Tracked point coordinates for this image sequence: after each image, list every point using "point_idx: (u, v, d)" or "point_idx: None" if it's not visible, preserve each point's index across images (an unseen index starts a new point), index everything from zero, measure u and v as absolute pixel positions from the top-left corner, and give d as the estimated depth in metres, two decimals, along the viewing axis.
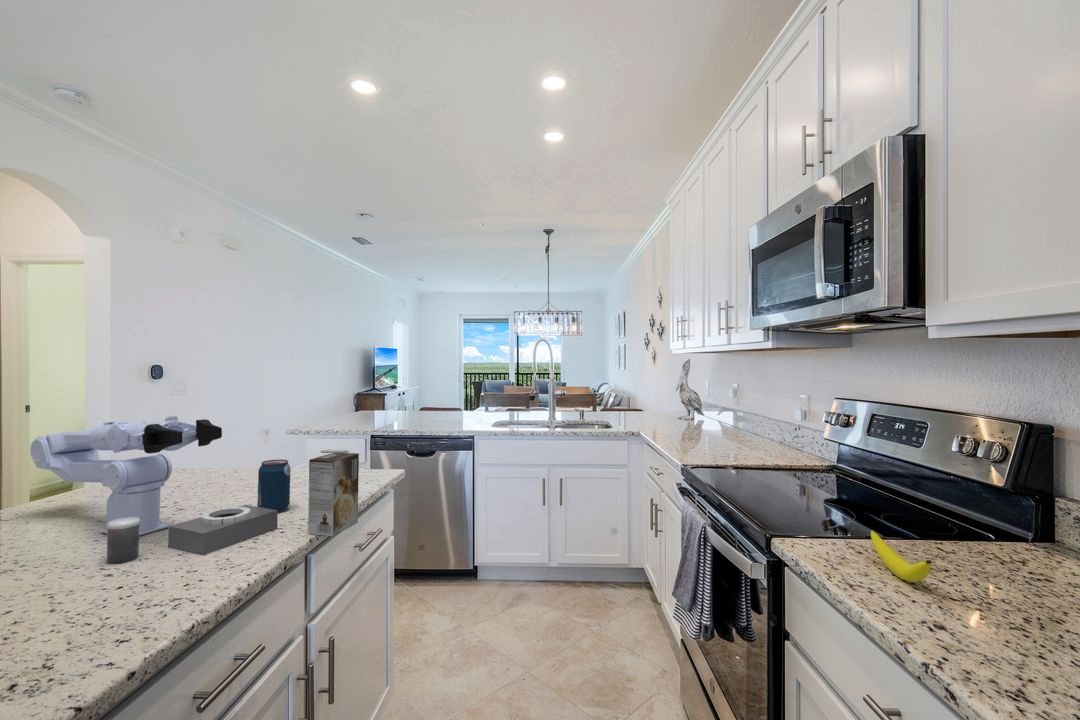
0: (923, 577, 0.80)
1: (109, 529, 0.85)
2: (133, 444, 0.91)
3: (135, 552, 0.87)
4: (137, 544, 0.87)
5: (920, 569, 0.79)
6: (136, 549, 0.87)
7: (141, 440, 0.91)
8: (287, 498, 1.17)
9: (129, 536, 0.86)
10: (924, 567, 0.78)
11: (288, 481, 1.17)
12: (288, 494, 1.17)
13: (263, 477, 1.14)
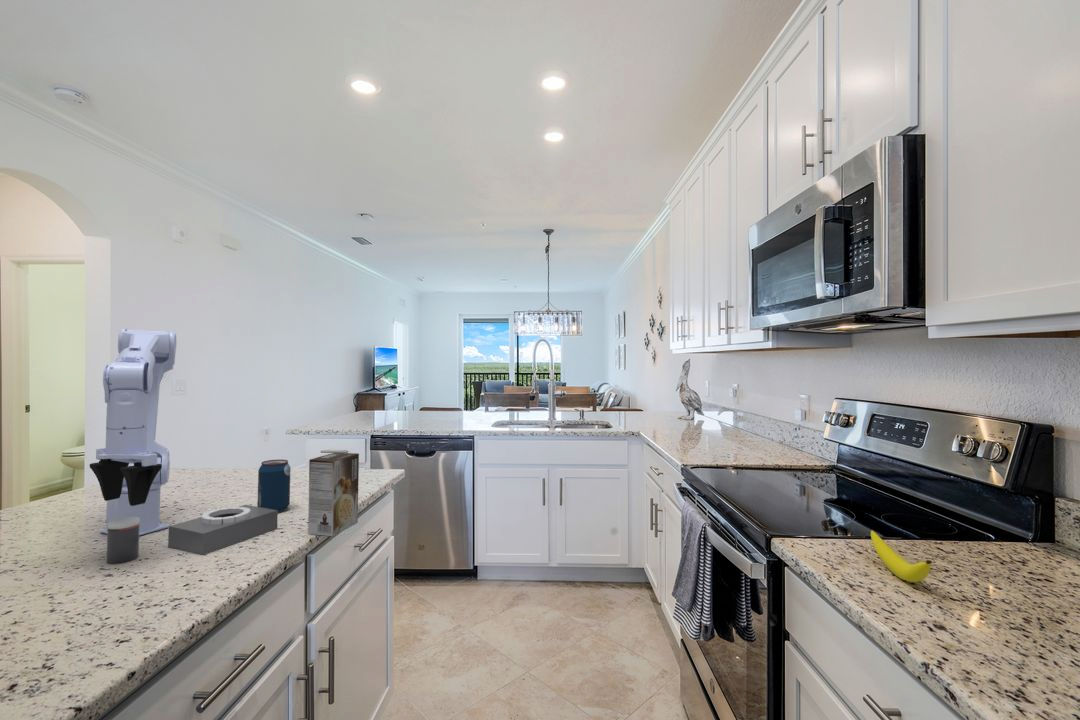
0: (923, 577, 0.80)
1: (109, 529, 0.85)
2: None
3: (135, 552, 0.87)
4: (137, 544, 0.87)
5: (920, 569, 0.79)
6: (136, 549, 0.87)
7: None
8: (287, 498, 1.17)
9: (129, 536, 0.86)
10: (924, 567, 0.78)
11: (288, 481, 1.17)
12: (288, 494, 1.17)
13: (263, 477, 1.14)
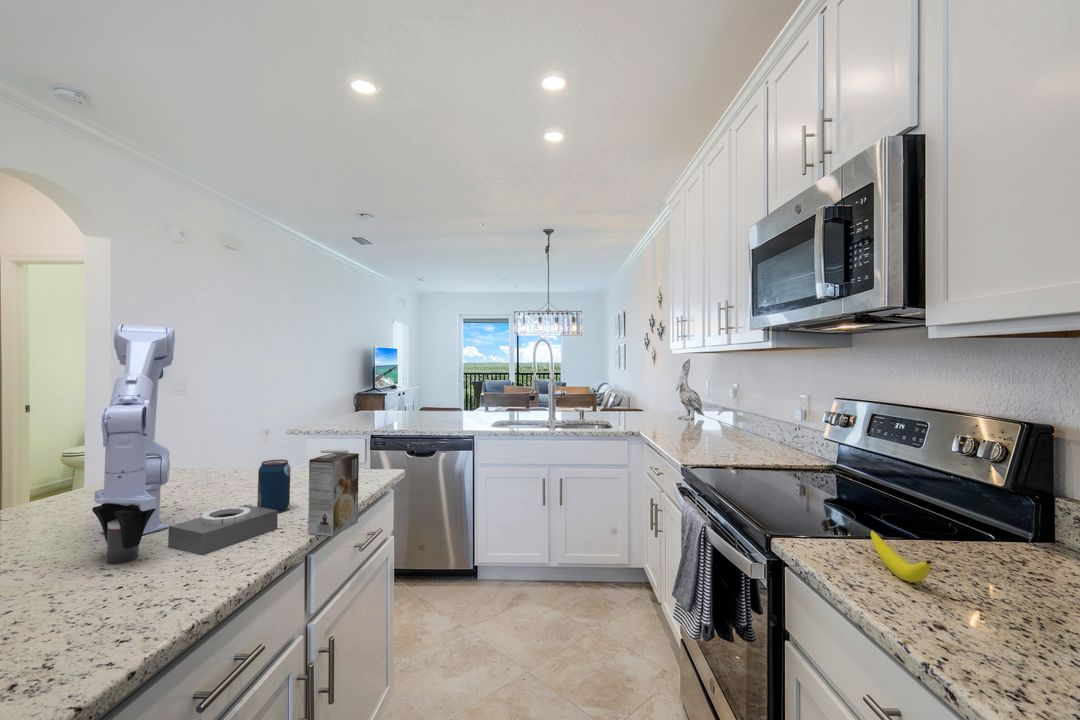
0: (923, 577, 0.80)
1: (109, 529, 0.85)
2: None
3: (135, 552, 0.87)
4: None
5: (920, 569, 0.79)
6: (136, 549, 0.87)
7: None
8: (287, 498, 1.17)
9: None
10: (924, 567, 0.78)
11: (288, 481, 1.17)
12: (288, 494, 1.17)
13: (263, 477, 1.14)
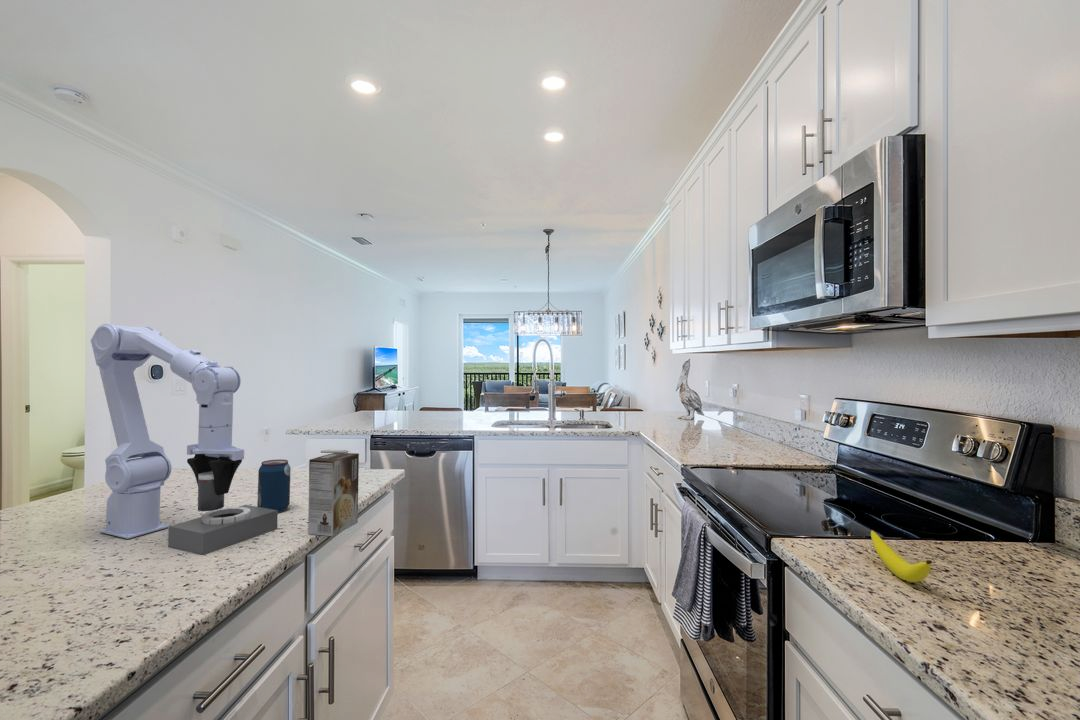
0: (923, 577, 0.80)
1: (199, 479, 0.95)
2: None
3: (221, 502, 0.96)
4: (223, 495, 0.97)
5: (920, 569, 0.79)
6: (222, 499, 0.97)
7: None
8: (287, 498, 1.17)
9: None
10: (924, 567, 0.78)
11: (288, 481, 1.17)
12: (288, 494, 1.17)
13: (263, 477, 1.14)
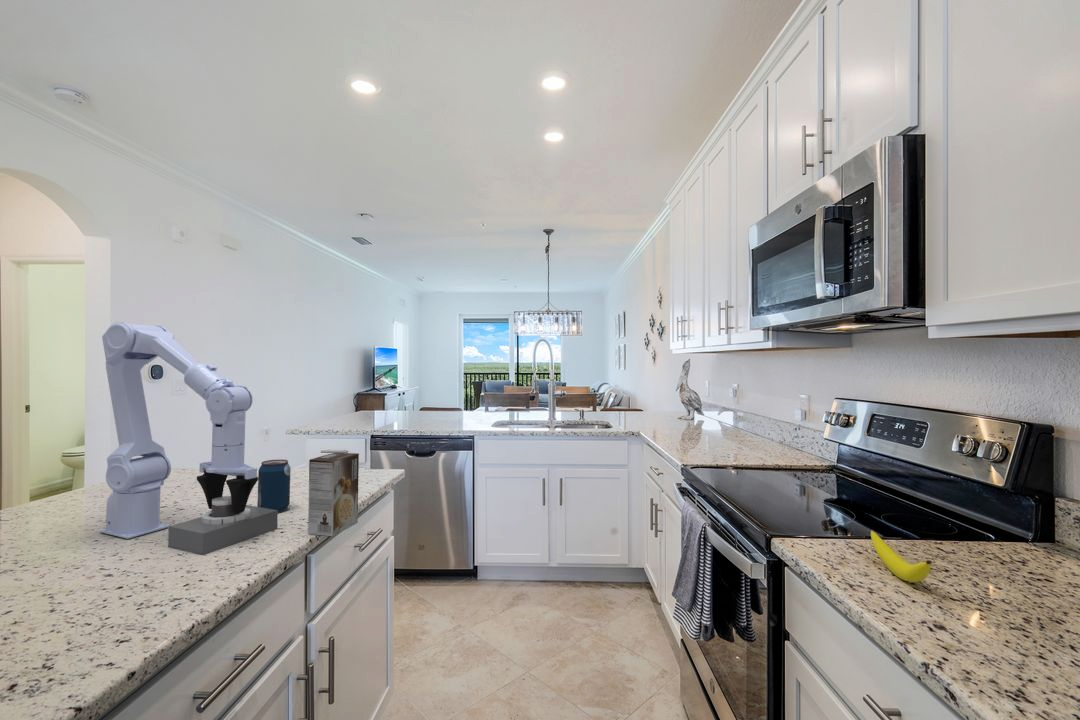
0: (923, 577, 0.80)
1: (213, 505, 0.96)
2: None
3: None
4: None
5: (920, 569, 0.79)
6: None
7: None
8: (287, 498, 1.17)
9: (229, 512, 0.97)
10: (924, 567, 0.78)
11: (288, 481, 1.17)
12: (288, 494, 1.17)
13: (263, 477, 1.14)
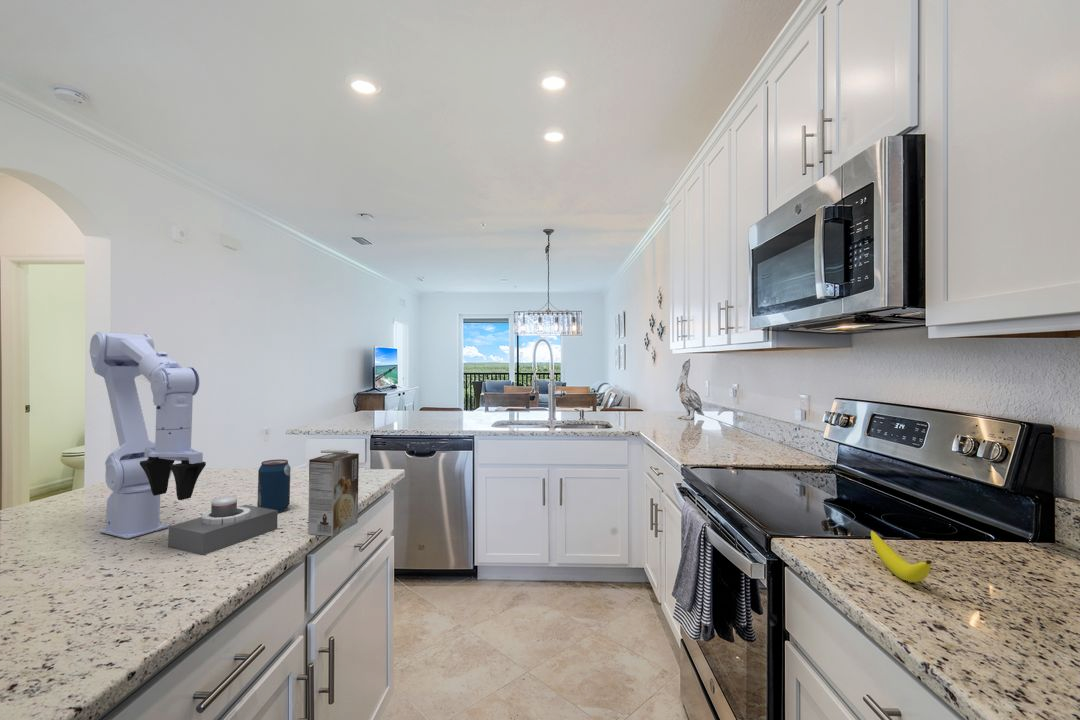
0: (923, 577, 0.80)
1: (212, 505, 0.96)
2: None
3: None
4: None
5: (920, 569, 0.79)
6: None
7: None
8: (287, 498, 1.17)
9: (228, 512, 0.97)
10: (924, 567, 0.78)
11: (288, 481, 1.17)
12: (288, 494, 1.17)
13: (263, 477, 1.14)
